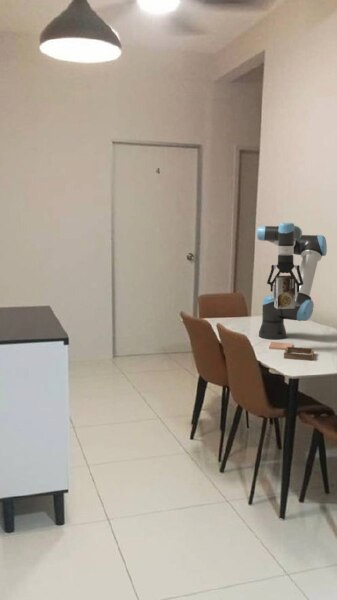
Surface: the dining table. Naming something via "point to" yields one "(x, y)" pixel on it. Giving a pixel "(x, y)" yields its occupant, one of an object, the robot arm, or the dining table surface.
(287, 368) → the dining table surface
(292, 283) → the coffee box
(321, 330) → the dining table surface
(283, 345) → the terracotta tile
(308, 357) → the tray
